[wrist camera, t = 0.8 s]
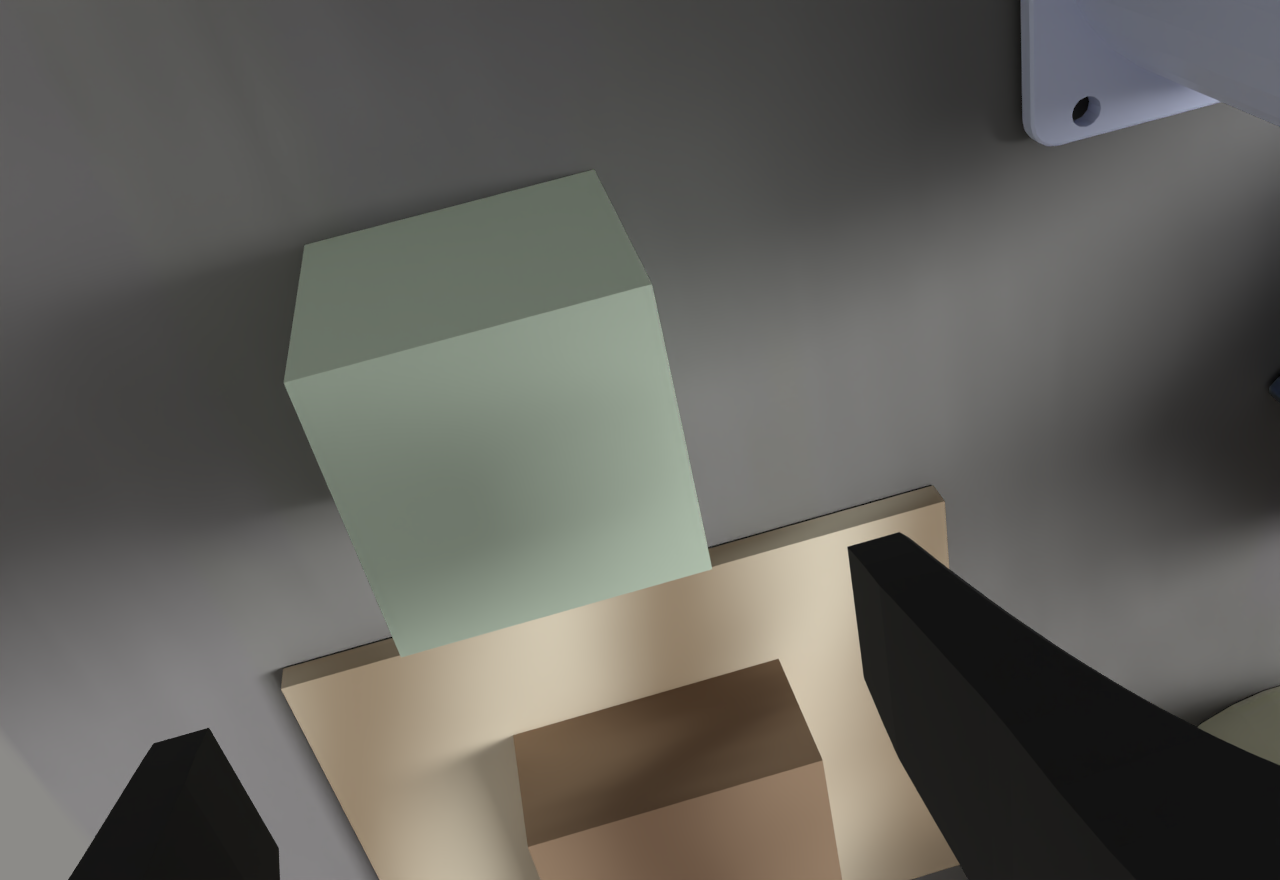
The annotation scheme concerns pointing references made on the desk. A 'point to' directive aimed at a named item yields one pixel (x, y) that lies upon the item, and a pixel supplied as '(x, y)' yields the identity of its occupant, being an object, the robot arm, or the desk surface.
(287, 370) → the sage cube
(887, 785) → the baseplate
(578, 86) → the desk surface
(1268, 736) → the reusable coffee cup
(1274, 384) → the box
